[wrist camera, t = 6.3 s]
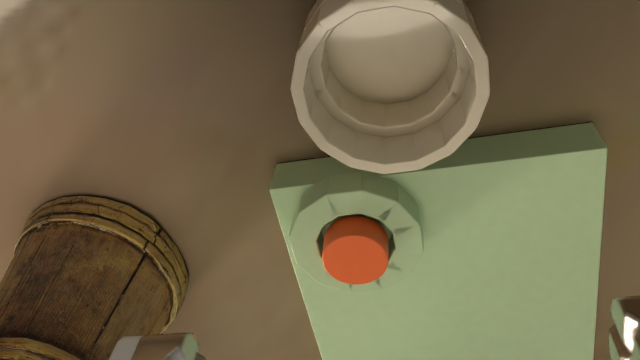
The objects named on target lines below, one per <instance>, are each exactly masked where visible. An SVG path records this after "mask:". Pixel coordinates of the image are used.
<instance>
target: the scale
mask: <svg viewBox="0 0 640 360" xmlns="http://www.w3.org/2000/svg"><path fill="white" fill-rule="evenodd" d="M606 163H607V147H606V145H605V143H604V141H603V140H602V138H601V136H600V135H599V133H598V131H597V129H596V128H595V126H594V124H593V123H584V124H577V125H569V126H562V127H554V128H546V129H539V130H531V131H524V132H516V133H508V134H501V135H493V136H485V137H478V138H470V139H466V140H465V141H464V142H463V143H462V144H461V145H460V146H459V147H458V148H457V149H456V150H455V151H454V152H453V153H452V154H451V155H449V156H447V157H445V158H443V159H441V160H439V161H437V162H435V163H433V164H431V165H428V166H426V167H424V168H422V169H419V170H414V171H406V172H398V173H389V174H381V173H376V172H371V171H366V170H361V169H356V168H351V167H350V166H349V167H348V166H347V165H345V164H343V163H342V162H340V161H338V160H337V159H335V158H333V157H326V158H318V159H310V160H303V161H295V162H288V163H280V164H276V166H275V170H274V174H273V178H272V181H271V185H270V189H269V191H270V194H271V197H272V200H273V204H274V207H275V210H276V213H277V216H278V220H279V223H280V226H281V229H282V232H283V235H284V239H285V242H286V245H287V248H288V251H289V255H290V258H291V261H292V264H293V267H294V270H295V274H296V277H297V280H298V283H299V286H300V290H301V293H302V296H303V299H304V302H305V306H306V309H307V312H308V315H309V318H310V321H311V325H312V328H313V331H314V334H315V337H316V341H317V344H318V347H319V350H320V353H321V357H322V360H593V354H594V339H595V325H596V310H597V295H598V281H599V266H600V251H601V236H602V222H603V207H604V192H605V178H606ZM348 216H363V217H367V218H370V219H372V220H374V221H376V222H377V223H379V224H380V225H381V226H382V227H383V228H384V230H385V231H386V233H387V236H388V248H389V262H388V267H387V269H386V271H385V272H384V274H383V275H382V276H381V277H379V278H378V279H376V280H375V281H373V282H370V283H366V284H360V285H354V284H347V283H343V282H340V281H338V280H336V279H335V278H333V277H332V276H331V275H330V274H329V273H328V272H327V271H326V270H325V268H324V266H323V263H322V252H323V244H324V236H325V233H326V231H327V229H328V228H329V226H330V225H331V224H332V223H334V222H335V221H337V220H338V219H341V218H344V217H348Z"/></svg>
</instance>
